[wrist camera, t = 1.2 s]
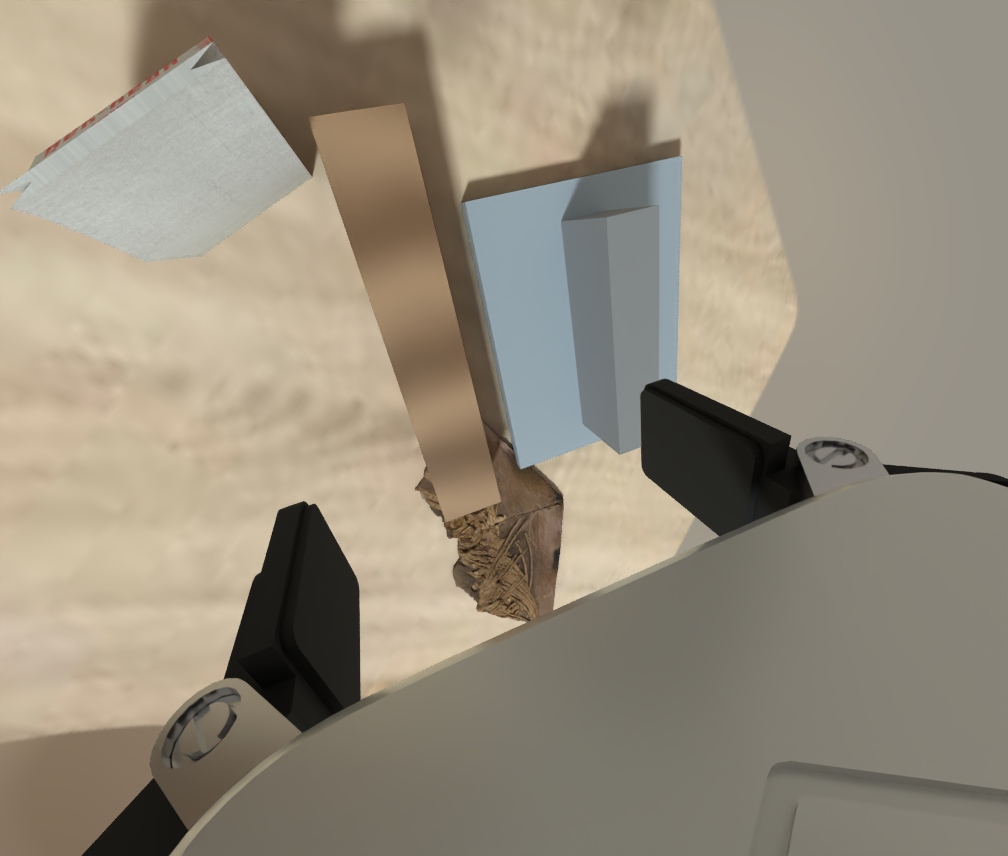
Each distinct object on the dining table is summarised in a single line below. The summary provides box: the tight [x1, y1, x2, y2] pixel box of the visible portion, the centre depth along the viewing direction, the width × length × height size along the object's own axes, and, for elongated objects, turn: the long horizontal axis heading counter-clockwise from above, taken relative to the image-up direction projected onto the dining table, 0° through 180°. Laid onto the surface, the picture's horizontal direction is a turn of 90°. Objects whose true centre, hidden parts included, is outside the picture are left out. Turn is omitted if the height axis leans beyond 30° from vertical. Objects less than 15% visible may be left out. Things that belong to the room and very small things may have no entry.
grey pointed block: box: [0, 36, 312, 262], centre depth 14 cm, size 4×7×10 cm, turn 121°
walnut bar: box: [307, 103, 501, 522], centre depth 23 cm, size 22×4×4 cm, turn 11°
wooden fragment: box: [415, 422, 564, 622], centre depth 34 cm, size 26×11×1 cm, turn 13°
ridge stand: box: [461, 156, 682, 469], centre depth 25 cm, size 18×14×6 cm
